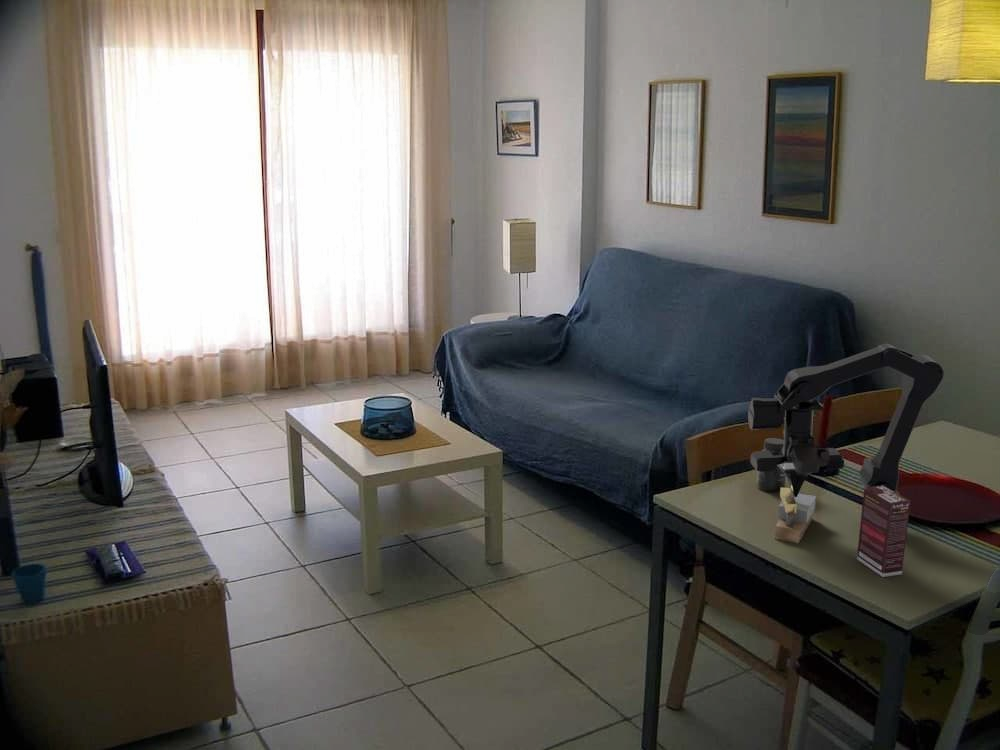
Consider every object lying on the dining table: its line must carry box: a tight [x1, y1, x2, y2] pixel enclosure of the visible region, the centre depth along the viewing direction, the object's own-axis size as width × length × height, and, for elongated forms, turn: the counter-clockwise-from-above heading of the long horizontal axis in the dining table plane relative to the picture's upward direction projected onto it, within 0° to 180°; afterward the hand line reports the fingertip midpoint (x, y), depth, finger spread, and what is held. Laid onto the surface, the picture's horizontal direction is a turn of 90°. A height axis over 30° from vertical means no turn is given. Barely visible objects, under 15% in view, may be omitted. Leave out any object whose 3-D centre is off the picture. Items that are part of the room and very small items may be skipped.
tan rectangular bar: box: [779, 487, 797, 513], centre depth 208 cm, size 2×9×2 cm, turn 173°
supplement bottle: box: [756, 437, 788, 493], centre depth 232 cm, size 7×7×12 cm
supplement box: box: [856, 486, 912, 578], centre depth 192 cm, size 9×5×16 cm, turn 17°
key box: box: [774, 513, 814, 544], centre depth 210 cm, size 5×14×6 cm, turn 151°
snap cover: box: [777, 492, 817, 524], centre depth 211 cm, size 6×9×3 cm, turn 151°
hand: (794, 496), depth 210 cm, fingers closed
